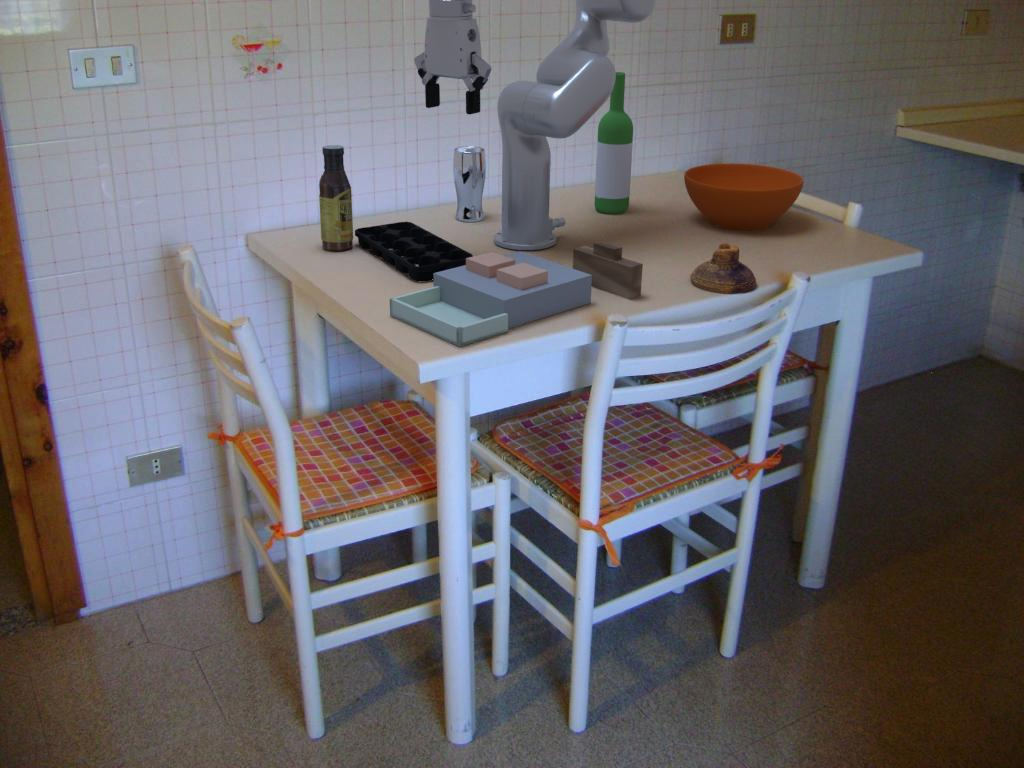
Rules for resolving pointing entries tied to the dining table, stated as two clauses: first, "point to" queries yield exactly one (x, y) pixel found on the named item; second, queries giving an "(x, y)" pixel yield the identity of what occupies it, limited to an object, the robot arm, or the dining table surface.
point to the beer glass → (469, 182)
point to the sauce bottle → (335, 202)
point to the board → (515, 291)
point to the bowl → (742, 193)
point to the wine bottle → (614, 154)
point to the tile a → (488, 264)
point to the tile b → (522, 276)
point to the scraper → (609, 269)
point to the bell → (724, 272)
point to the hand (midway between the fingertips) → (452, 110)
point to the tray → (445, 318)
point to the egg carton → (411, 249)
